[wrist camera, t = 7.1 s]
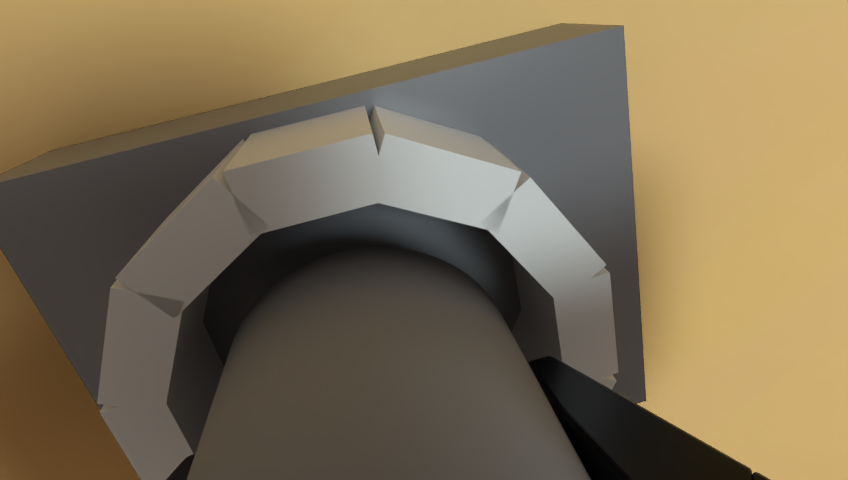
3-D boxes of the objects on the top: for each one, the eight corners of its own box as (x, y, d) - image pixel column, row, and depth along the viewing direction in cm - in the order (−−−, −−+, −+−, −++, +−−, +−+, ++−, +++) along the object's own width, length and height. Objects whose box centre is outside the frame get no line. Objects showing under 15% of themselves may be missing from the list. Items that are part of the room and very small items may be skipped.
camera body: (561, 23, 12) (710, 28, 7) (594, 335, 16) (708, 479, 11) (51, 150, 12) (-159, 248, 7) (205, 443, 16) (141, 646, 11)
